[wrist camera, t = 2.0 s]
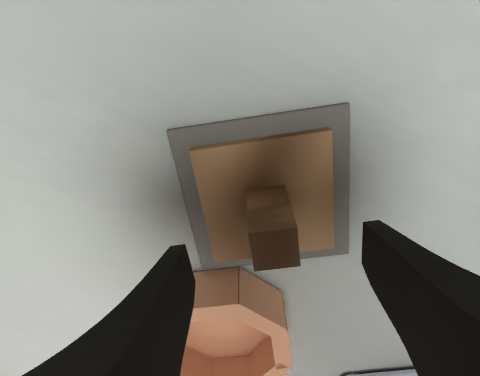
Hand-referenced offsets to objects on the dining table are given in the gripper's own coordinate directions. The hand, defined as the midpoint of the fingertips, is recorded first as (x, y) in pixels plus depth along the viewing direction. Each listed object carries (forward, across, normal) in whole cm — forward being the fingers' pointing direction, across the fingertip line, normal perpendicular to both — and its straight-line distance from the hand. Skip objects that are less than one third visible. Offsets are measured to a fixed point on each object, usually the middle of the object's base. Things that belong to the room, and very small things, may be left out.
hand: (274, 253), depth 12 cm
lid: (+5, 0, 0) cm, 5 cm away
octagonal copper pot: (+5, +4, +9) cm, 11 cm away
